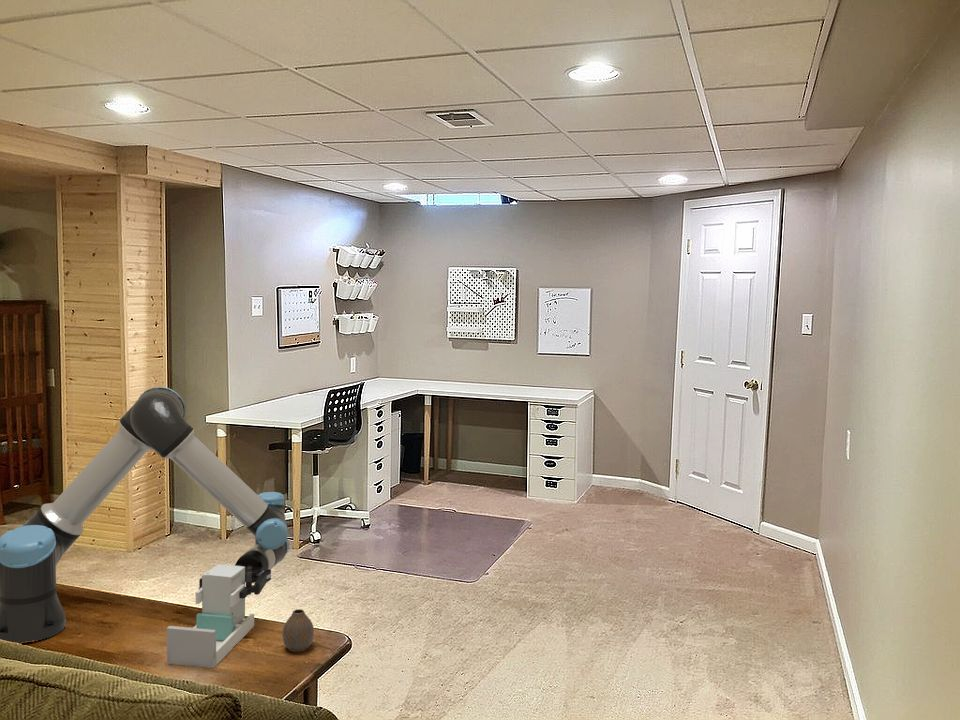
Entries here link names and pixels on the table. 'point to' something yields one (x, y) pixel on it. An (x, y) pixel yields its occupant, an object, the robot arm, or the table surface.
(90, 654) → the table surface
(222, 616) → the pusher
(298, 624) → the vase
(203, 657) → the tray
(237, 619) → the supplement box
